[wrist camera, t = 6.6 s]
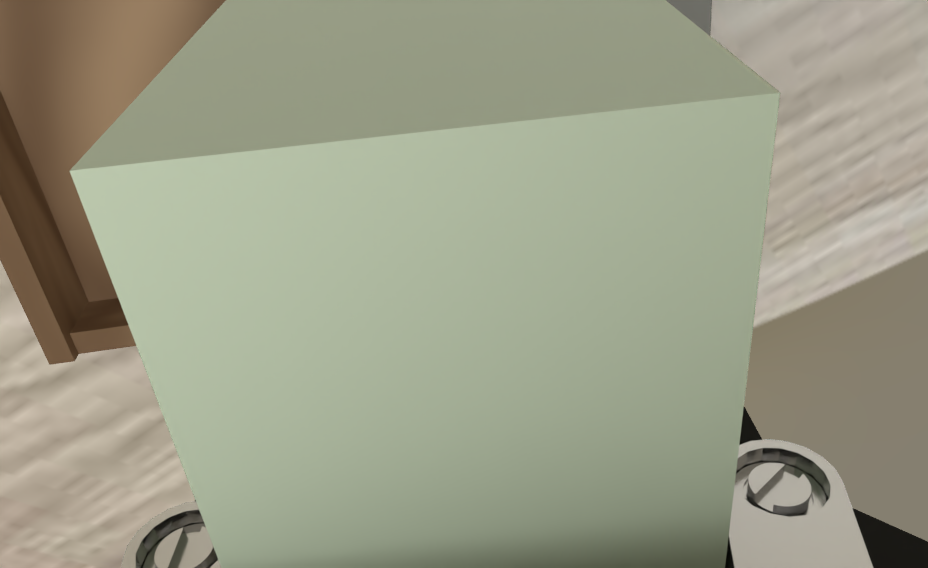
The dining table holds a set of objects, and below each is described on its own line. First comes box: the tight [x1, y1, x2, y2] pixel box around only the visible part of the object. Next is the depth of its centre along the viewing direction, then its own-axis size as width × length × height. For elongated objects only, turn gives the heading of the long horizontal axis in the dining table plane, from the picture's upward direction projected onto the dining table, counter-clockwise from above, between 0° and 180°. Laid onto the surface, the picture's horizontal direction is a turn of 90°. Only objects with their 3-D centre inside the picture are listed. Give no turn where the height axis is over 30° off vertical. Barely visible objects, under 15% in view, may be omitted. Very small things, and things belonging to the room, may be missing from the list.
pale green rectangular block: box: [70, 0, 780, 568], centre depth 12 cm, size 4×12×10 cm, turn 5°
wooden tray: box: [0, 0, 226, 364], centre depth 29 cm, size 19×19×4 cm
